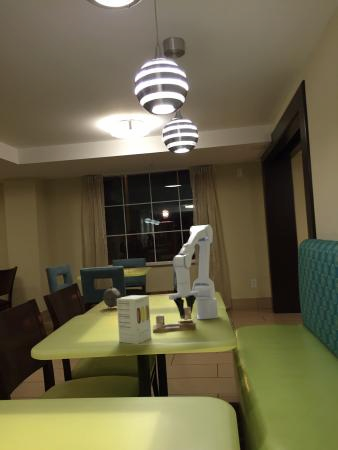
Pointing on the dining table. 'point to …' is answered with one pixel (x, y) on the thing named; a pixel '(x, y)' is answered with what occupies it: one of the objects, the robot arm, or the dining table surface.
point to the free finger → (186, 313)
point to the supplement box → (134, 319)
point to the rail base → (172, 325)
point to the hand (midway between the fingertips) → (185, 314)
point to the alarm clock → (111, 296)
